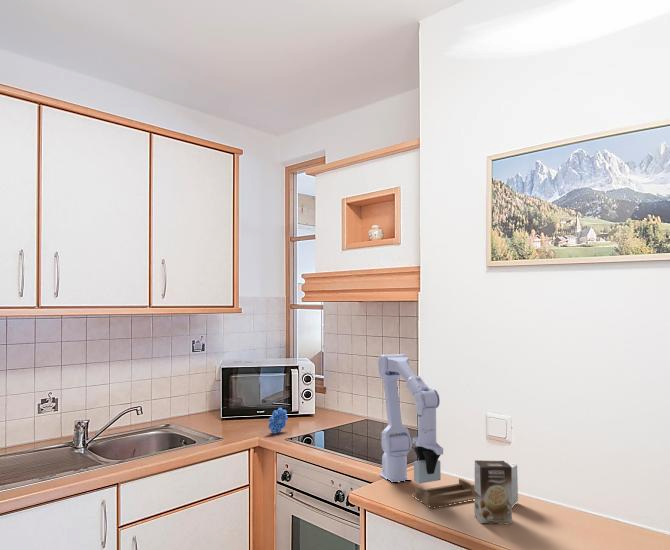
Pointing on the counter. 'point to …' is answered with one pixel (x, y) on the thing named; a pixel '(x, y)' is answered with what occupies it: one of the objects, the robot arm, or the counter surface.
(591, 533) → the counter surface
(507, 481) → the coffee box
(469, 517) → the counter surface
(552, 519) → the counter surface
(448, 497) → the wooden tray
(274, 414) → the grapes
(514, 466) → the skincare box
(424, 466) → the door panel
